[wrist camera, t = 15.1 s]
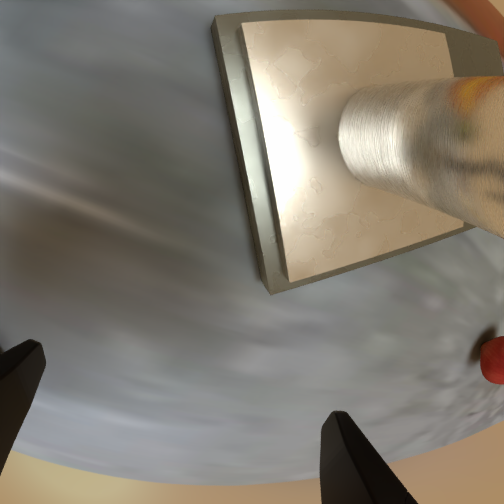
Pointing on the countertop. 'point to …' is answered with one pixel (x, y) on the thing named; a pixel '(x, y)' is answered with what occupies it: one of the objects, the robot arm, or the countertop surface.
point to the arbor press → (327, 132)
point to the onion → (493, 360)
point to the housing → (432, 144)
